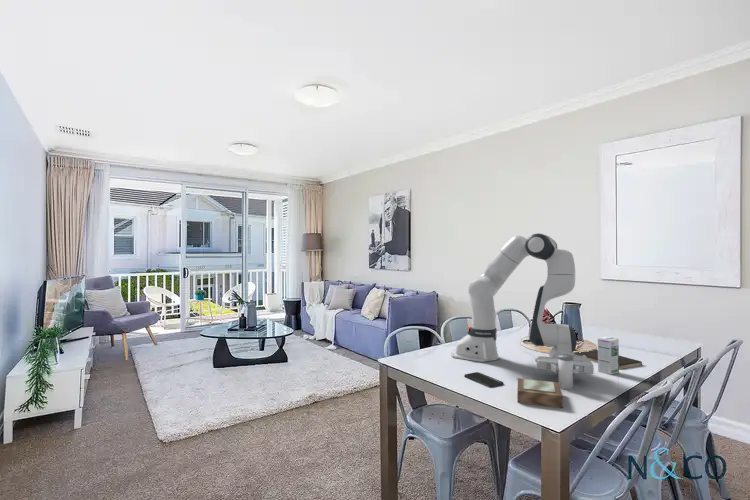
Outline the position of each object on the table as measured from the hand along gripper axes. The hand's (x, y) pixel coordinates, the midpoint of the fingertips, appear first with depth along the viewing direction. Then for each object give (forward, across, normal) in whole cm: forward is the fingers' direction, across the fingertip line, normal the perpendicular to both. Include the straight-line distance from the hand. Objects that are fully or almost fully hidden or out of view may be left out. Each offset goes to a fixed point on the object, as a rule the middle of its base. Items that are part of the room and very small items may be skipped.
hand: (565, 370), depth 148 cm
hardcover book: (-48, +22, +7) cm, 53 cm away
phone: (+2, -30, +7) cm, 31 cm away
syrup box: (-28, +19, +7) cm, 34 cm away
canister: (-1, 0, +6) cm, 7 cm away
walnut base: (+14, -10, +6) cm, 18 cm away
